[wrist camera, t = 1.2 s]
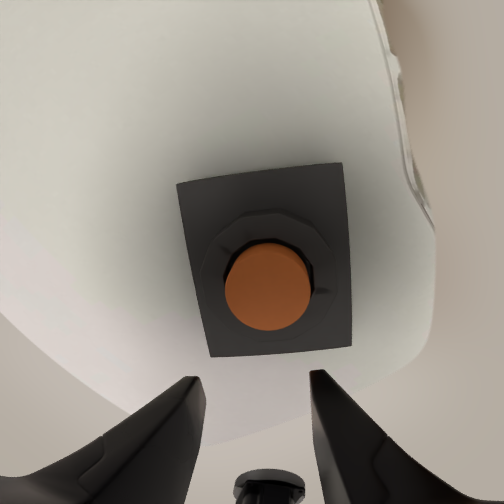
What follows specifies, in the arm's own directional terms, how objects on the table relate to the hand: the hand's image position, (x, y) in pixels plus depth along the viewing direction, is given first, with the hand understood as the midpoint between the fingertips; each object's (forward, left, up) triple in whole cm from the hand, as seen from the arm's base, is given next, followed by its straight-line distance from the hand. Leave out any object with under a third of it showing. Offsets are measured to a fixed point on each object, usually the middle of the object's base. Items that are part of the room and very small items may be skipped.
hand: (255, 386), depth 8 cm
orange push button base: (0, 0, -12) cm, 12 cm away
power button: (0, 0, -8) cm, 8 cm away
